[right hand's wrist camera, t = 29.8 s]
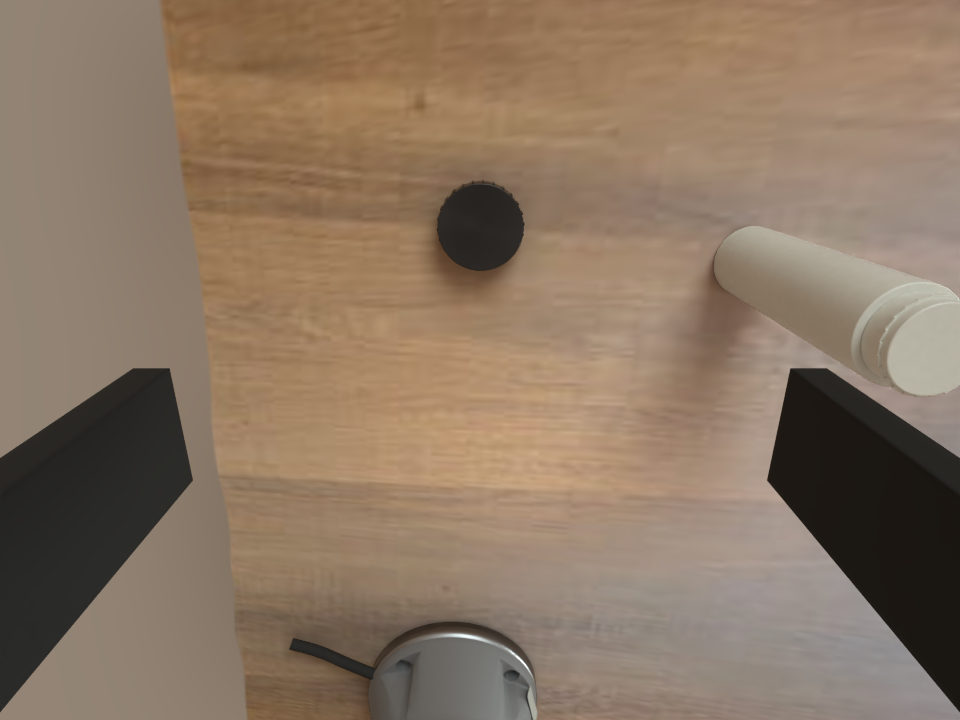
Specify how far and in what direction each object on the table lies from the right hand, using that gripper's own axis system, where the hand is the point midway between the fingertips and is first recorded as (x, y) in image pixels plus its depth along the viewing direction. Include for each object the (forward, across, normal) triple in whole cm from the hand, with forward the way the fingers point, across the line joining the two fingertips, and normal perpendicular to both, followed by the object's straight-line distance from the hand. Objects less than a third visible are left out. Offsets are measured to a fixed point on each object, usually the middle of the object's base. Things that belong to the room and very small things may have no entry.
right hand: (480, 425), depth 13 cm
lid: (+27, 0, 0) cm, 27 cm away
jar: (+28, +18, -2) cm, 34 cm away
